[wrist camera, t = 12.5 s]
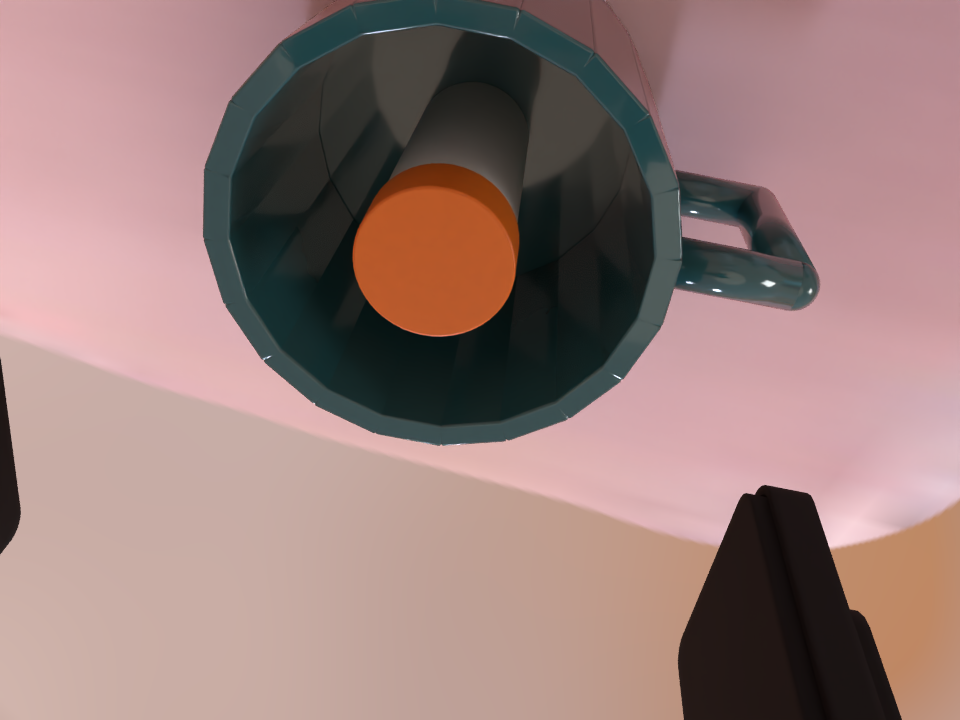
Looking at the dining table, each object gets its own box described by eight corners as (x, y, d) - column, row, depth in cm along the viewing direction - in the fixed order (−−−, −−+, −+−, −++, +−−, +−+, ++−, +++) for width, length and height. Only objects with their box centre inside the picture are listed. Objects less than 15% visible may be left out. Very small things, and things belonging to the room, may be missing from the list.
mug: (296, 251, 30) (199, 401, 22) (321, -92, 25) (206, -53, 17) (711, 331, 30) (760, 507, 22) (823, 7, 25) (937, 90, 17)
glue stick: (423, 67, 26) (360, 171, 18) (542, 90, 26) (530, 204, 18) (408, 181, 27) (344, 321, 20) (520, 203, 28) (499, 351, 20)
